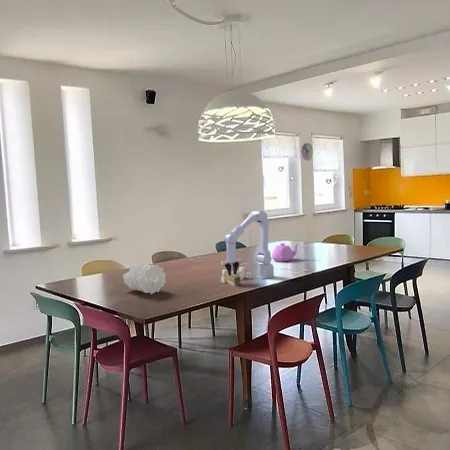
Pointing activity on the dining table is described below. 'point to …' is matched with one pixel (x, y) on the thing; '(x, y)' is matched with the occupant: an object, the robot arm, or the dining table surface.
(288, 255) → the teapot
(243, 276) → the white comb rack
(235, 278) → the rail
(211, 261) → the dining table surface
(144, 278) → the white faceted lump
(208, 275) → the dining table surface
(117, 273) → the dining table surface
